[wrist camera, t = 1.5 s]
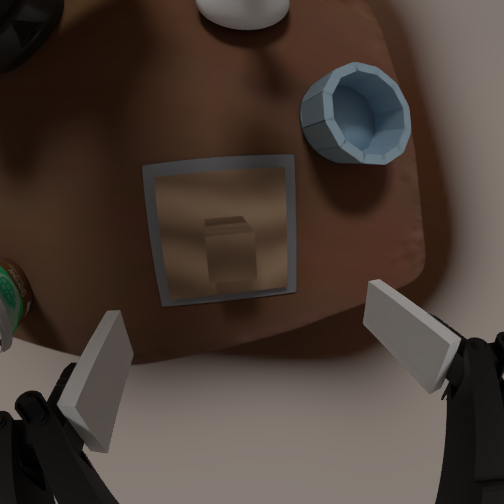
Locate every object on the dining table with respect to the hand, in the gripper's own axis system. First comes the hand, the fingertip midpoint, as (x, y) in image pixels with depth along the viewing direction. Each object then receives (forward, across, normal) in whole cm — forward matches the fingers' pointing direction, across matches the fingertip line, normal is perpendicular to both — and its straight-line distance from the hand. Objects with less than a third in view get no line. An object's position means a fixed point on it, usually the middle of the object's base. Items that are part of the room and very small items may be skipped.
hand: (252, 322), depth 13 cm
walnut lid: (+19, 0, 0) cm, 19 cm away
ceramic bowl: (+19, +15, +13) cm, 28 cm away
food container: (+19, -31, -3) cm, 37 cm away
